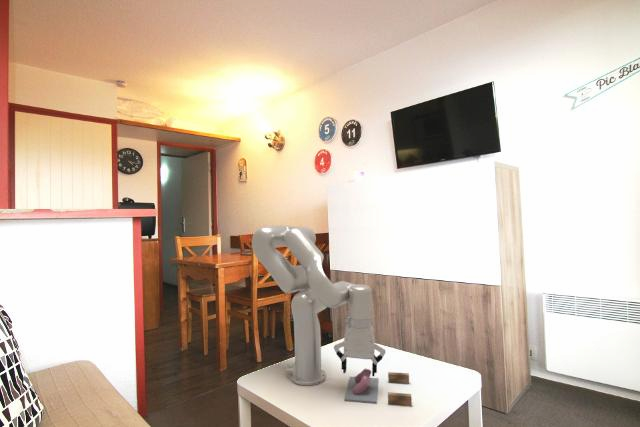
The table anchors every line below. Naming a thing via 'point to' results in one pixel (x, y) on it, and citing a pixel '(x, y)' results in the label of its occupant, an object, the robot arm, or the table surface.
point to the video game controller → (362, 381)
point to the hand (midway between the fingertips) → (359, 373)
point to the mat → (364, 396)
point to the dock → (399, 398)
